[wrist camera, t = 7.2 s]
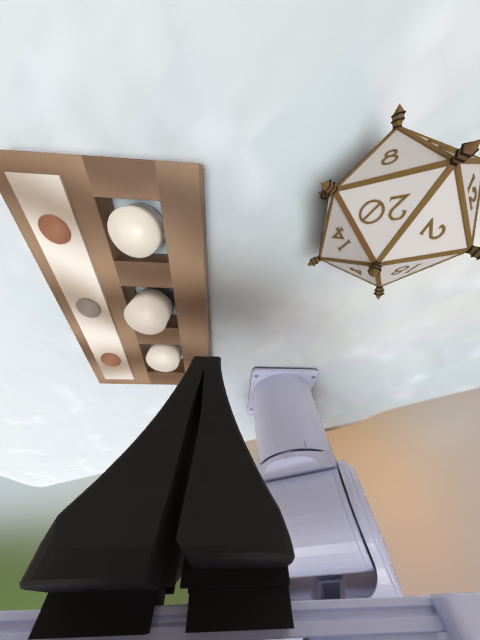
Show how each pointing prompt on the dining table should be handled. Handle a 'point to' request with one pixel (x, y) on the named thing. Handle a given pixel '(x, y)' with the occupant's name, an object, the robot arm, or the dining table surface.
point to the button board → (113, 253)
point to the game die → (402, 208)
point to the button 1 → (136, 229)
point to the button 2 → (164, 357)
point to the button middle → (148, 311)
